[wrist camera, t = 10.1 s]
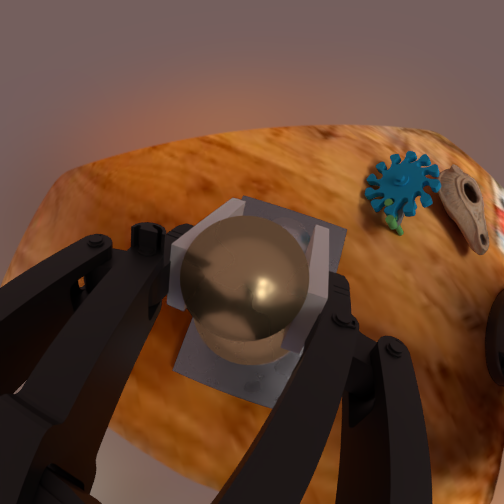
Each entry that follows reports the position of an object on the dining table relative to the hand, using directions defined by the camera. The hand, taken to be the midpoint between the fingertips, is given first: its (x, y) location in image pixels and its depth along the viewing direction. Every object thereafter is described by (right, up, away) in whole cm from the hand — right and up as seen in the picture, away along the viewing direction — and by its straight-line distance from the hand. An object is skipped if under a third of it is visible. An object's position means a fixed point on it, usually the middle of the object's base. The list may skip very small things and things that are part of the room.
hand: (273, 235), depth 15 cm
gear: (+16, +5, +16) cm, 23 cm away
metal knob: (-1, -5, +3) cm, 6 cm away
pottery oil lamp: (+27, +4, +15) cm, 32 cm away
